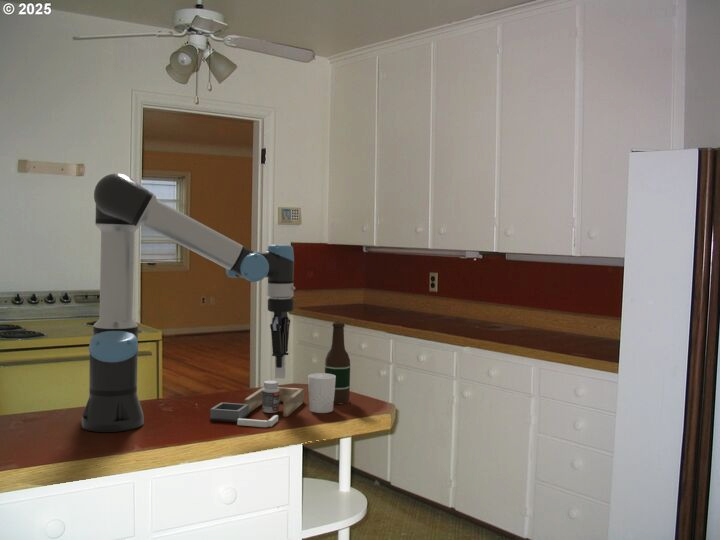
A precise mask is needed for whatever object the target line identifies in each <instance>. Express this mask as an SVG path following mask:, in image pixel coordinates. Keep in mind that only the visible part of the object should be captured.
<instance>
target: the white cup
mask: <svg viewBox="0 0 720 540" xmlns="http://www.w3.org/2000/svg"><path fill="white" fill-rule="evenodd" d="M307 378H308V379H307V380H308V381H307V382H308V383H307V385H308V401H309V411H310V412H311V413H315V414H316V413H317V414H328V413H331V412H333V411H334V404H333V402H334V394H335V381H336V376H335V375H333V374H327V373H325V372H323V373H322V372H320V373H319V372H316V373H311V374H309V375H307Z"/></svg>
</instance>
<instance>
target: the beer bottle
mask: <svg viewBox="0 0 720 540" xmlns="http://www.w3.org/2000/svg"><path fill="white" fill-rule="evenodd" d="M344 329H345V323H344V322H343V321H335V322H334V321H333V322H332V336H331V337H332V338H331V339H332V340H331V345H330V349H329V351H328V352H327V353H326V357H325V361H324V373H327V374H333V375H335V376H336V381H335V394H334V402H333V405H340V404H339V403H344V404H347V403H349V402H350V395H351V394H350V389H351V388H350V387H351V385H350V383H351V359H350V356H349V354H348V352H347V351H346V348H345V347H346V346H345V334H344V333H345V330H344ZM348 401H349V402H348ZM346 402H347V403H346Z"/></svg>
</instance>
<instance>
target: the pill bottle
mask: <svg viewBox="0 0 720 540" xmlns="http://www.w3.org/2000/svg"><path fill="white" fill-rule="evenodd" d="M263 387H265V388H264V389H263V399H262V404H261V407H262V409H261V410H262V412H263V413H268V414H275V413H278V412H279V411H280V401H279V388H277V387H279V381H277V380H265V381H263Z"/></svg>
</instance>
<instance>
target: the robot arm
mask: <svg viewBox="0 0 720 540" xmlns="http://www.w3.org/2000/svg"><path fill="white" fill-rule="evenodd" d="M93 199H94V200H93V201H94V203H95V220H94V221H95V222H94V223H95V226H96V227H97V228H98V229H99V230H100V274H99V275H100V276H99V277H100V278H99V319H98V320H97V321H95V323H94V324H93V328H92V329H93V330H92V333H93V334H92V336H91V338H90V340H89V345H88V353H89V375H88V376H89V377H88V378H89V380H88V382H89V389H88V390H89V391H88V393H89V395H88V399H87V402H86V405H85V408H84V410H83V413H82V416H81V428H82V429H83V430H86V431H89V432H95V433H116V432H124V431H129V430H133V429H137V428H139V427H141V426H143V425H144V422H145V421H144V420H145V419H144V412H143V409H142V406H141V403H140V399H139V397H138V355H139V343H138V341H139V337H138V336H139V331H138V330H139V324H138V323H137V322H136V321H135V320H134V318H133V314H134V313H133V307H134V306H133V304H134V303H133V302H134V269H135V267H134V266H135V265H134V261H135V232H136V231H137V230H138V229H139V228H140V227H142V226H143V227H145V228H147V229H150V230H151V231H153V232H155V233H157V234H159V235H161V236H163V237H165V238H167V240H168V239H169V240H171V241H172V242H174V243H176V244H178V245H179V246H182V247H184V248H186V249H187V250H190V251H192V252H194V253H196V254H197V255H199V256H201V257H203V258H205V259H207V260H209V261H212V262H213V263H215V264H217V265H219V266H221V267H222V268H225V273H226V274H225V275H226V276H227V277H228V278H233V279H234V278H236V279H240V278H241V279H245V280H246V281H249V282H252V283H256V282H260V281H262V280H264V279H265V278H267V296H268V299H267V311H268V312H271V313H273V317H272V318H271V319H272V320H271V323H270V324H269V327H270V333H271V344H272V345H271V347H272V348H271V349H272V354H271V357H274V379H279V380H280V379H286V356H289V354H290V353H289V352H288V351H289V335H290V325H291V319H290V318H289V316H288V313H291V312H293V311H294V309H295V308H294V304H295V303H294V301H295V300H294V298H292V297H294V290H296V286H294V280H295V279H294V273H295V271H294V269H295V254H294V246H292V245H290V244H269V245H268V246H267V250H266V251H254V250H252V249H250V248H248V247H246V246H244V245H242V244H240V243H239V242H237V241H235V240H234V239H231V238H229V237H228V236H226V235H224V234H223V233H220V232H218V231H216V230H215V229H213V228H210V227H209V226H208V225H206V224H204V223H201V222H199V221H198V220H196V219H194V218H192V217H190V216H188V215H186V214H185V213H183V212H181V211H180V210H177V209H176V208H173V207H172V206H170V205H168V204H166V203H164V202H162V201H160V200H159V199H157V196H156V194H155V193H154V192H152V191H150V190H148V189H146V188H145V187H143V186H142V185H141V184H139V183H138V182H137V181H135V180H134V179H133V178H132V177H131V176H128V175H126V174H124V173H116V172H115V173H110V174H108V175H107V174H106V175H105V176H103V177H102V178H101V179H100V180H99V181H98V182H97V184H96V185H95V188H94V192H93Z"/></svg>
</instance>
